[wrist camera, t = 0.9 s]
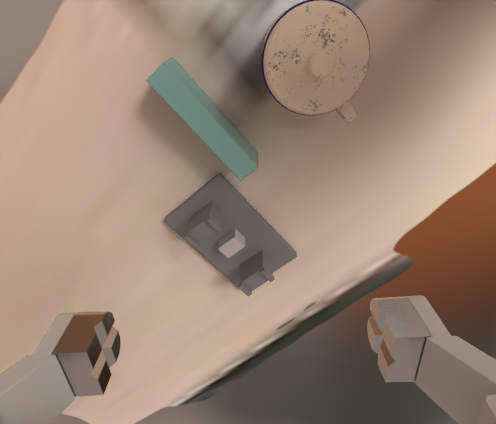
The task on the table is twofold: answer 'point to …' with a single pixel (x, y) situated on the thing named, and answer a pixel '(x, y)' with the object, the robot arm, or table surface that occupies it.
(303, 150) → the table surface
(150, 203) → the table surface
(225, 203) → the display stand
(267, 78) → the teacup with lid
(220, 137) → the frame bar
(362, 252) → the table surface
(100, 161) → the table surface
